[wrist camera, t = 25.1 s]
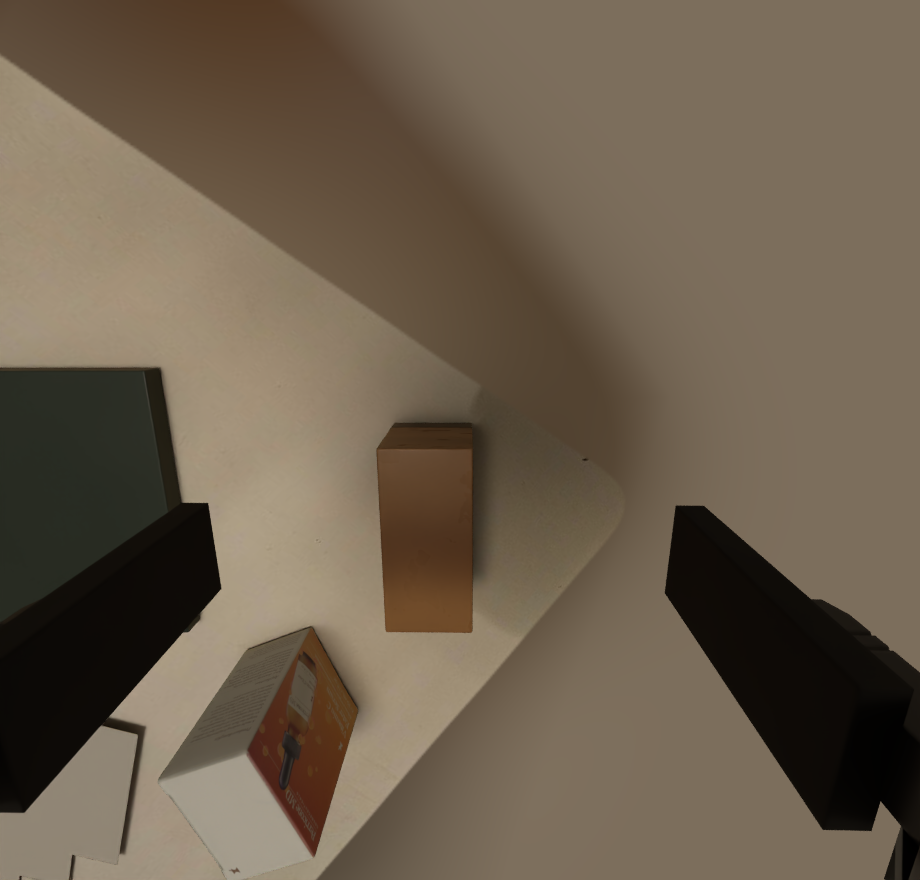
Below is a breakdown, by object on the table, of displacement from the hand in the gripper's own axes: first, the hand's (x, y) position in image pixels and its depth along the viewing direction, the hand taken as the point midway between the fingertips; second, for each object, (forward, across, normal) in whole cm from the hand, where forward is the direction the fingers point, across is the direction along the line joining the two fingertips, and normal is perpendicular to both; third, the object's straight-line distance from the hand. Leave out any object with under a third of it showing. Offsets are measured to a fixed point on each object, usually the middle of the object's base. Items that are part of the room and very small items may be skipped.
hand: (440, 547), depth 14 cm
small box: (+17, -12, -20) cm, 29 cm away
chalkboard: (+17, -31, -6) cm, 36 cm away
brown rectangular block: (+18, -2, -6) cm, 19 cm away
